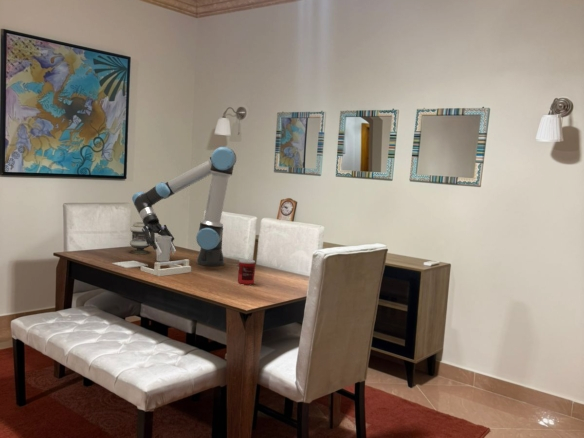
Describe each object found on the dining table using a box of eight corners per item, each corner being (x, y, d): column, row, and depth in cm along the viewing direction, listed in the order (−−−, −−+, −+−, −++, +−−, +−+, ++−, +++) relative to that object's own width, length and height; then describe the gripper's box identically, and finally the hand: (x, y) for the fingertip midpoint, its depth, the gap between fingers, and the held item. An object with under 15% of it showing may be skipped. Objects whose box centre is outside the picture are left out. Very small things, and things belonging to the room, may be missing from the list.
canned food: (245, 280, 262) (246, 258, 261) (257, 283, 257) (258, 261, 256) (234, 282, 256) (235, 260, 255) (246, 286, 251) (247, 262, 250)
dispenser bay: (140, 270, 269) (140, 258, 269) (172, 266, 284) (172, 255, 284) (158, 276, 259) (159, 264, 259) (191, 272, 274) (191, 260, 273)
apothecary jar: (129, 250, 323) (130, 221, 321) (150, 251, 327) (151, 221, 325) (129, 254, 312) (130, 223, 310) (151, 254, 315) (152, 224, 313)
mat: (134, 261, 291) (134, 260, 291) (148, 265, 283) (148, 264, 283) (112, 263, 281) (112, 262, 281) (126, 268, 273) (126, 267, 273)
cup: (167, 262, 268) (167, 238, 267) (152, 261, 269) (152, 237, 268) (173, 259, 276) (174, 236, 274) (159, 258, 277) (159, 235, 276)
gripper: (162, 221, 289) (180, 255, 280) (128, 223, 273) (146, 259, 264) (169, 212, 285) (187, 247, 276) (134, 214, 269) (152, 250, 260)
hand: (167, 253), depth 270 cm, fingers closed on cup, 8 cm apart
